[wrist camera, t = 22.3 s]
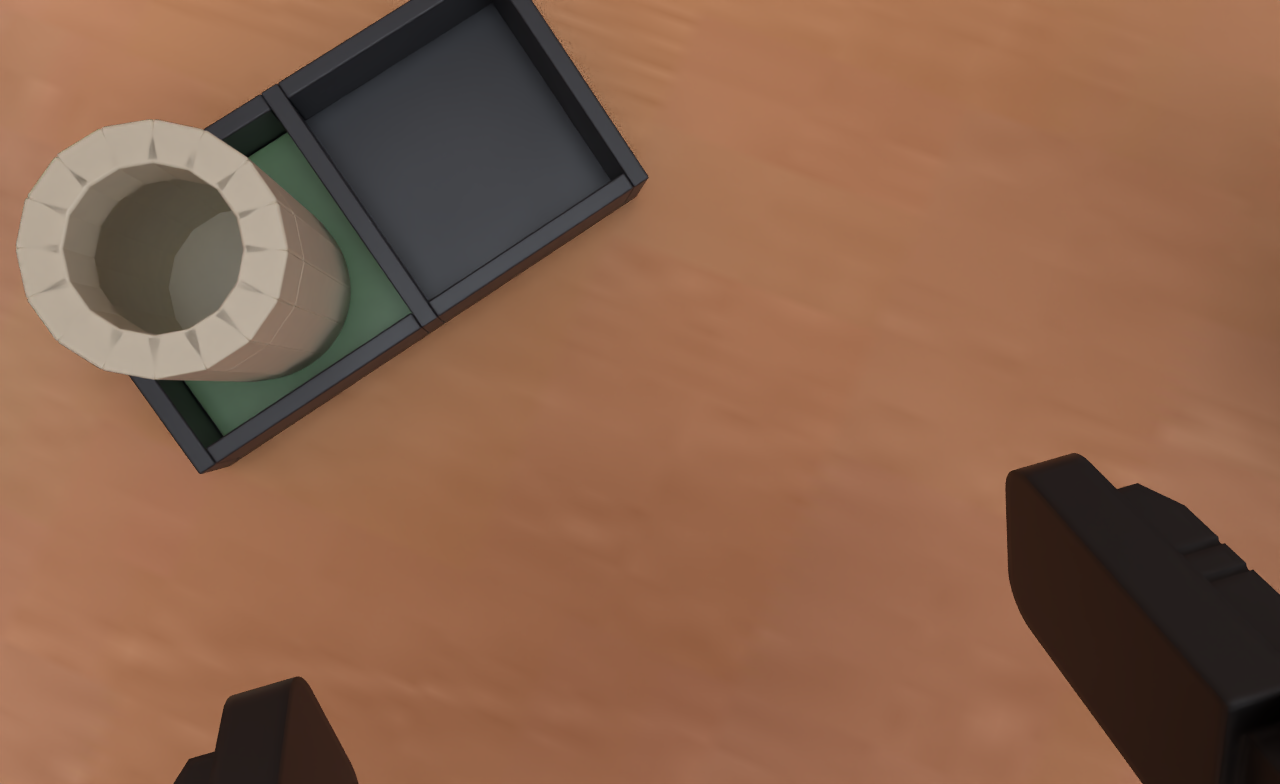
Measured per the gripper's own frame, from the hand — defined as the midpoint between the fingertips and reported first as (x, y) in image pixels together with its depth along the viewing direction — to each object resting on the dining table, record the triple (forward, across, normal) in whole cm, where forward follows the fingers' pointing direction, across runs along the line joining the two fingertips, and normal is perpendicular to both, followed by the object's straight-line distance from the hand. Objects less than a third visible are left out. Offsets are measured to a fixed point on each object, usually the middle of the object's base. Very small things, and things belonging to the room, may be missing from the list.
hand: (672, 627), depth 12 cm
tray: (+27, +6, +4) cm, 28 cm away
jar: (+26, +10, +5) cm, 28 cm away
